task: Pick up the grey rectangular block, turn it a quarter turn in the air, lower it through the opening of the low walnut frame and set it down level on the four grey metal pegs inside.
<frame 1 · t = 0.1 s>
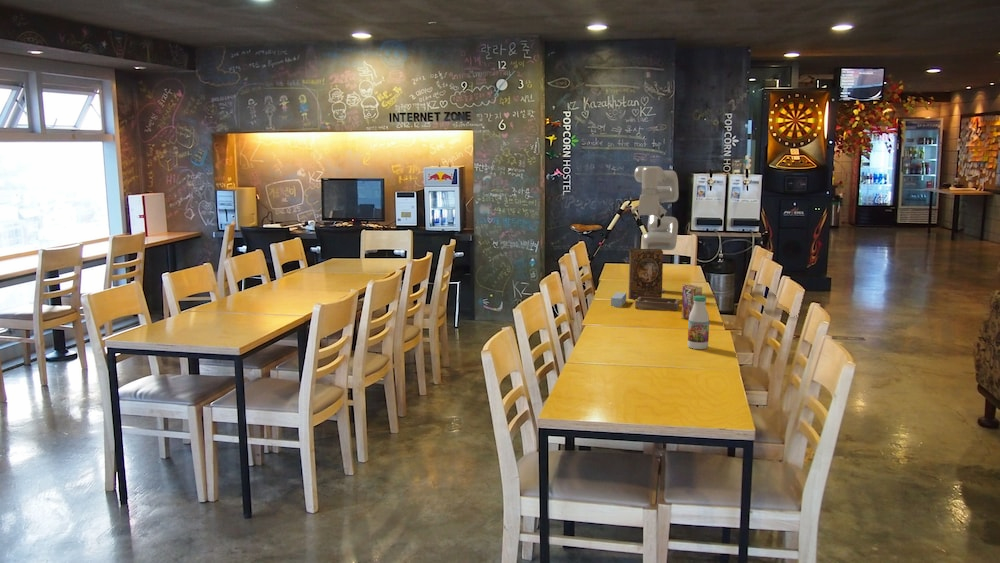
hand: (648, 226, 395), 37 cm above the table, tool pointing down, fingers open, 9 cm apart
milk bottle: (697, 347, 305), on the table
book: (644, 298, 403), on the table
candy box: (691, 320, 354), on the table
grey rectangular block: (618, 304, 389), on the table
frame: (657, 307, 381), on the table
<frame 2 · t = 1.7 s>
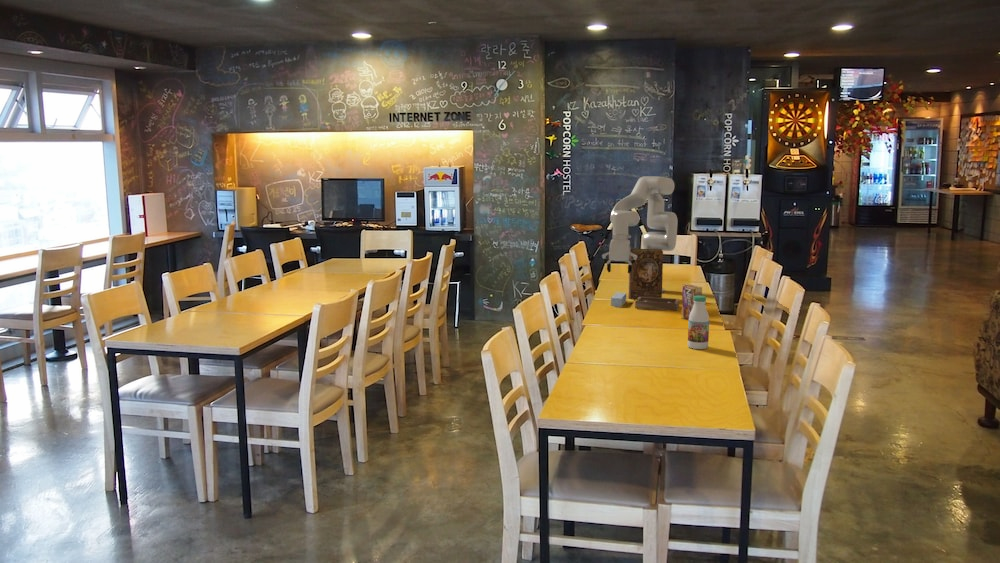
hand: (619, 272, 386), 16 cm above the table, tool pointing down, fingers open, 9 cm apart
nothing on the table moved.
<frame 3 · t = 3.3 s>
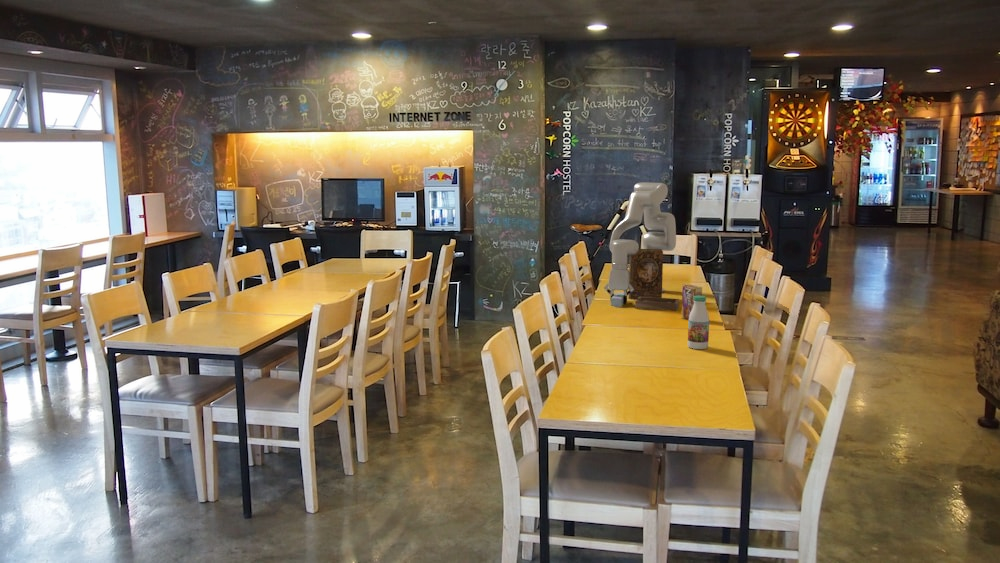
hand: (618, 303, 389), 0 cm above the table, tool pointing down, fingers closed on grey rectangular block, 5 cm apart
grey rectangular block: (618, 304, 389), on the table, touching gripper
everything else where it was.
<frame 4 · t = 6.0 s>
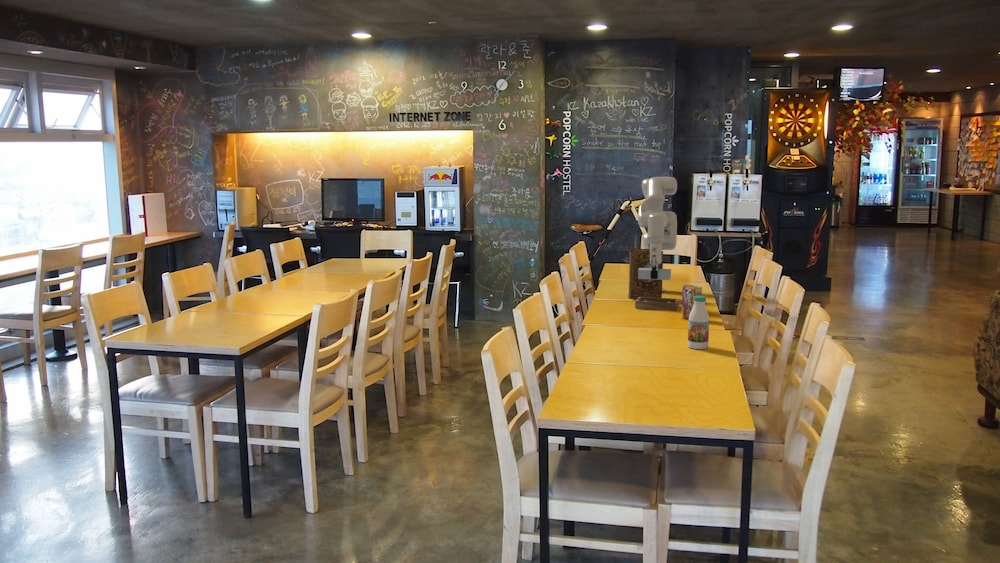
hand: (654, 277, 379), 14 cm above the table, tool pointing down, fingers closed on grey rectangular block, 5 cm apart
grey rectangular block: (654, 278, 379), point 14 cm above the table, touching gripper
everything else where it was.
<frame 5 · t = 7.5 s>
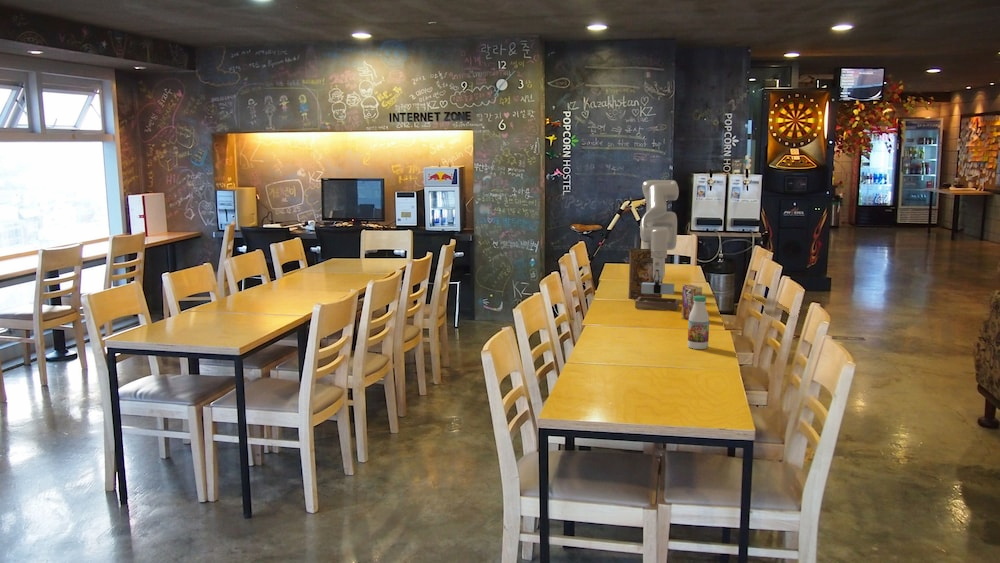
hand: (657, 291, 379), 8 cm above the table, tool pointing down, fingers closed on grey rectangular block, 5 cm apart
grey rectangular block: (657, 293, 379), point 7 cm above the table, touching gripper
everything else where it was.
when the fingers open (4 cm above the table, at t = 8.6 s): grey rectangular block stays where it is, resting on frame.
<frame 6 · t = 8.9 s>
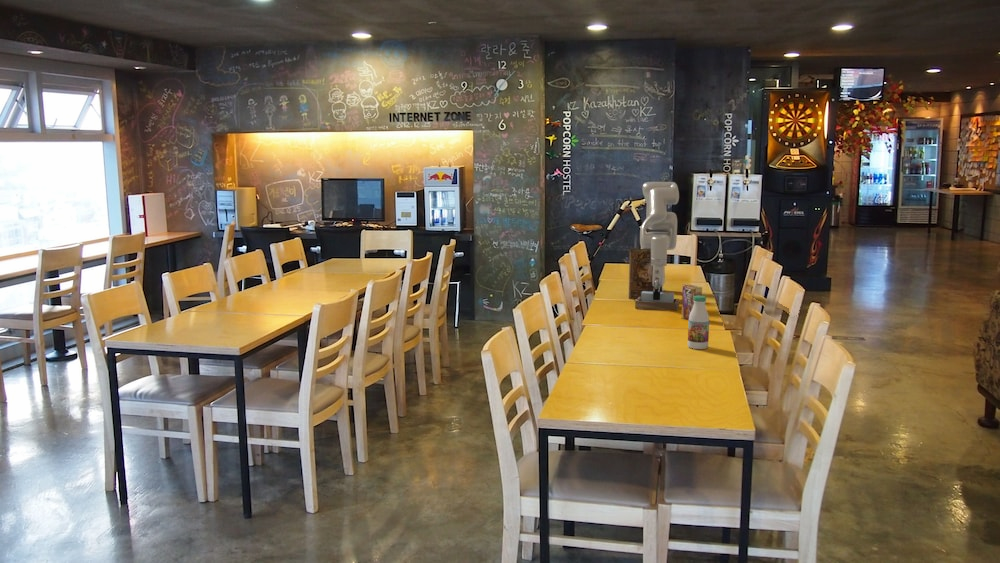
hand: (657, 298, 380), 5 cm above the table, tool pointing down, fingers open, 8 cm apart
grey rectangular block: (657, 302, 380), point 2 cm above the table, touching frame
everything else where it was.
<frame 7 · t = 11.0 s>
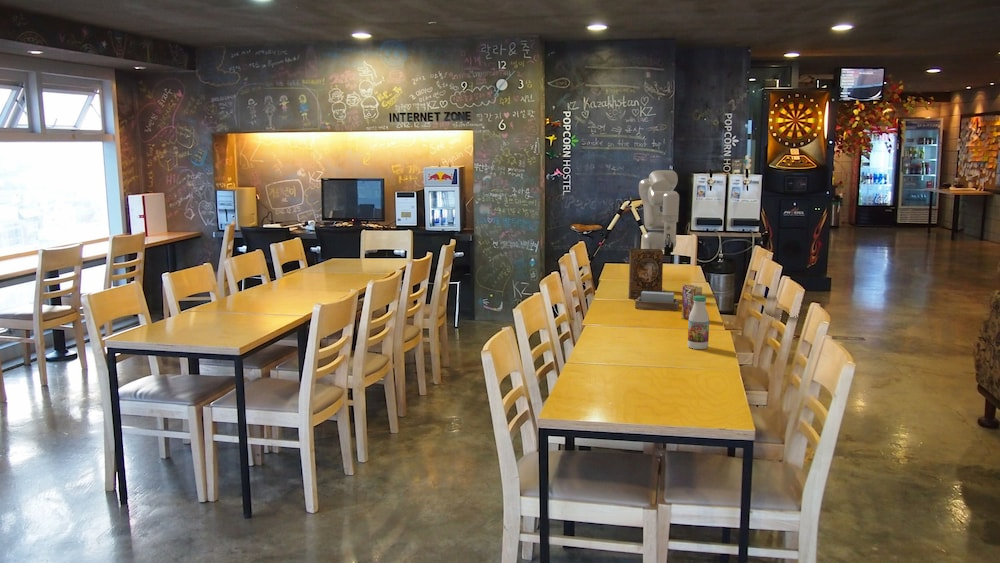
hand: (668, 253, 385), 25 cm above the table, tool pointing down, fingers open, 9 cm apart
nothing on the table moved.
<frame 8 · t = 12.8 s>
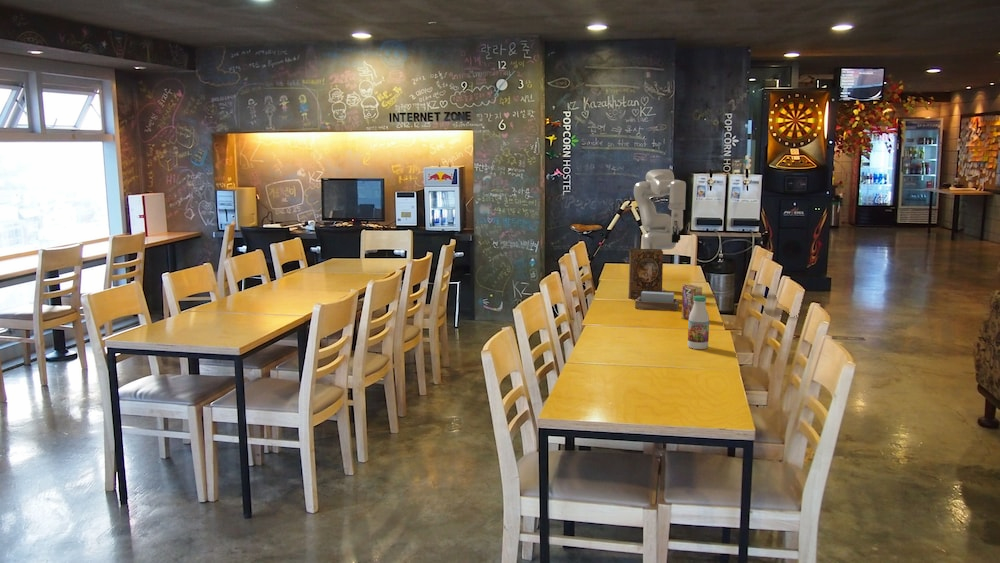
hand: (675, 241, 388), 30 cm above the table, tool pointing down, fingers open, 9 cm apart
nothing on the table moved.
at the end: grey rectangular block 0.1 cm off-centre on the frame, point 2.5 cm above the frame's base; grey rectangular block tilted 0°; the gripper is holding nothing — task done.
